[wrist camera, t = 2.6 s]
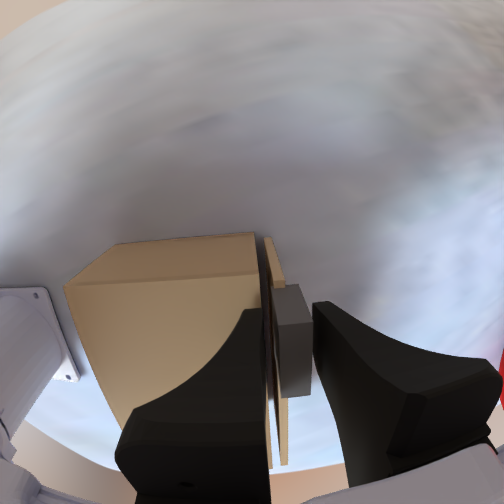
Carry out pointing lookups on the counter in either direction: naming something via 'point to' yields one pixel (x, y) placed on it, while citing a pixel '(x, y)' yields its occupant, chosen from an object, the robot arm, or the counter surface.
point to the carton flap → (287, 343)
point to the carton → (161, 313)
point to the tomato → (503, 372)
